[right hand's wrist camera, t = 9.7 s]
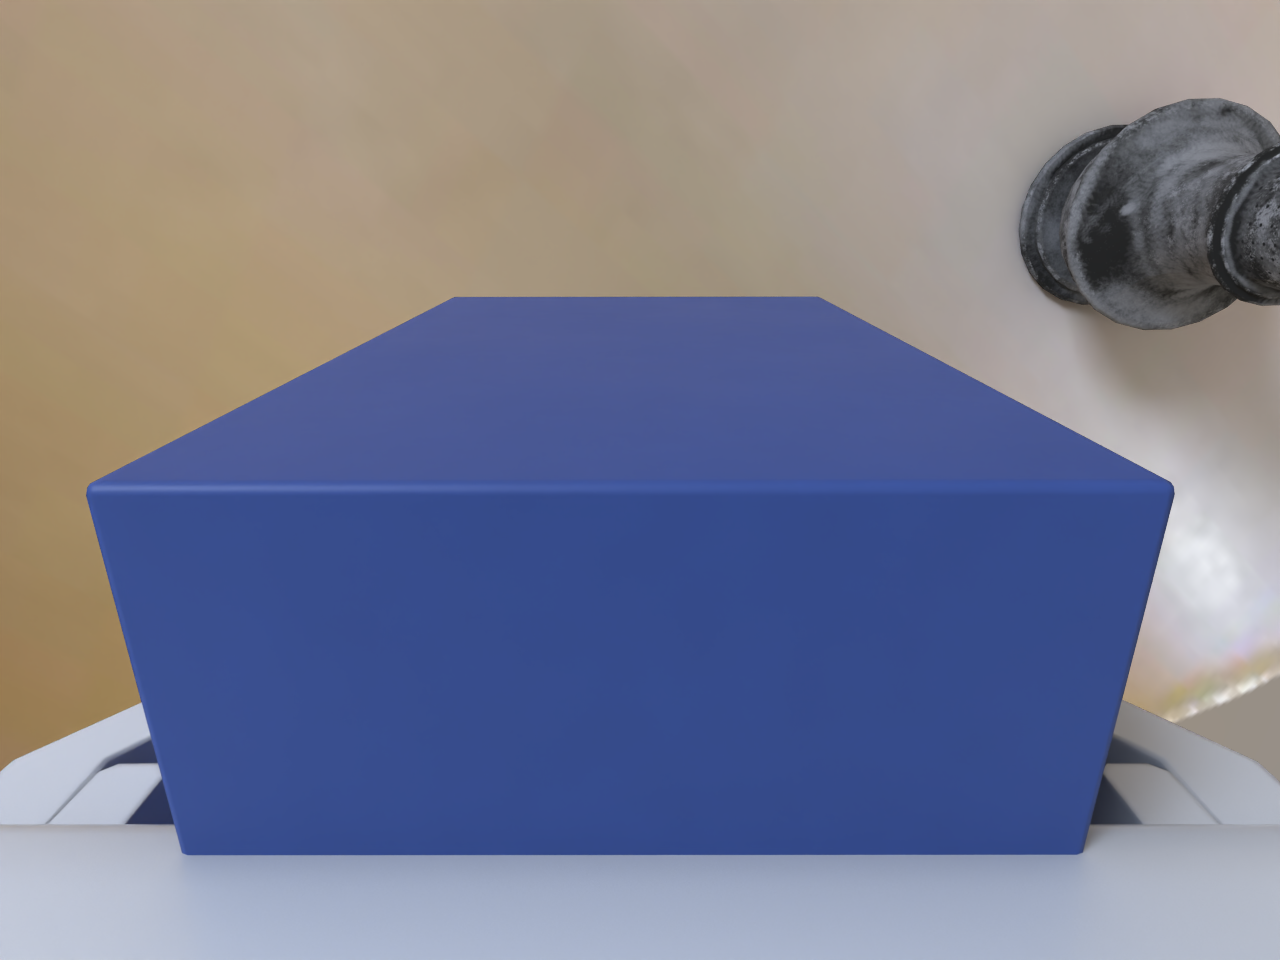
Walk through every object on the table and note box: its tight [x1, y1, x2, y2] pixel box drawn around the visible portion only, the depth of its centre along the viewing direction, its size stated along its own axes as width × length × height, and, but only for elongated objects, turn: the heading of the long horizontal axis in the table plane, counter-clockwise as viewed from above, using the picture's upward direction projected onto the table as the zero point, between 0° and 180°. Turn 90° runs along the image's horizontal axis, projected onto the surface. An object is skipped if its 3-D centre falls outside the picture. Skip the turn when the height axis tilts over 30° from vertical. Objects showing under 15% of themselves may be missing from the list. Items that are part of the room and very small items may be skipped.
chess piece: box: [1019, 98, 1280, 330], centre depth 18 cm, size 6×6×12 cm
